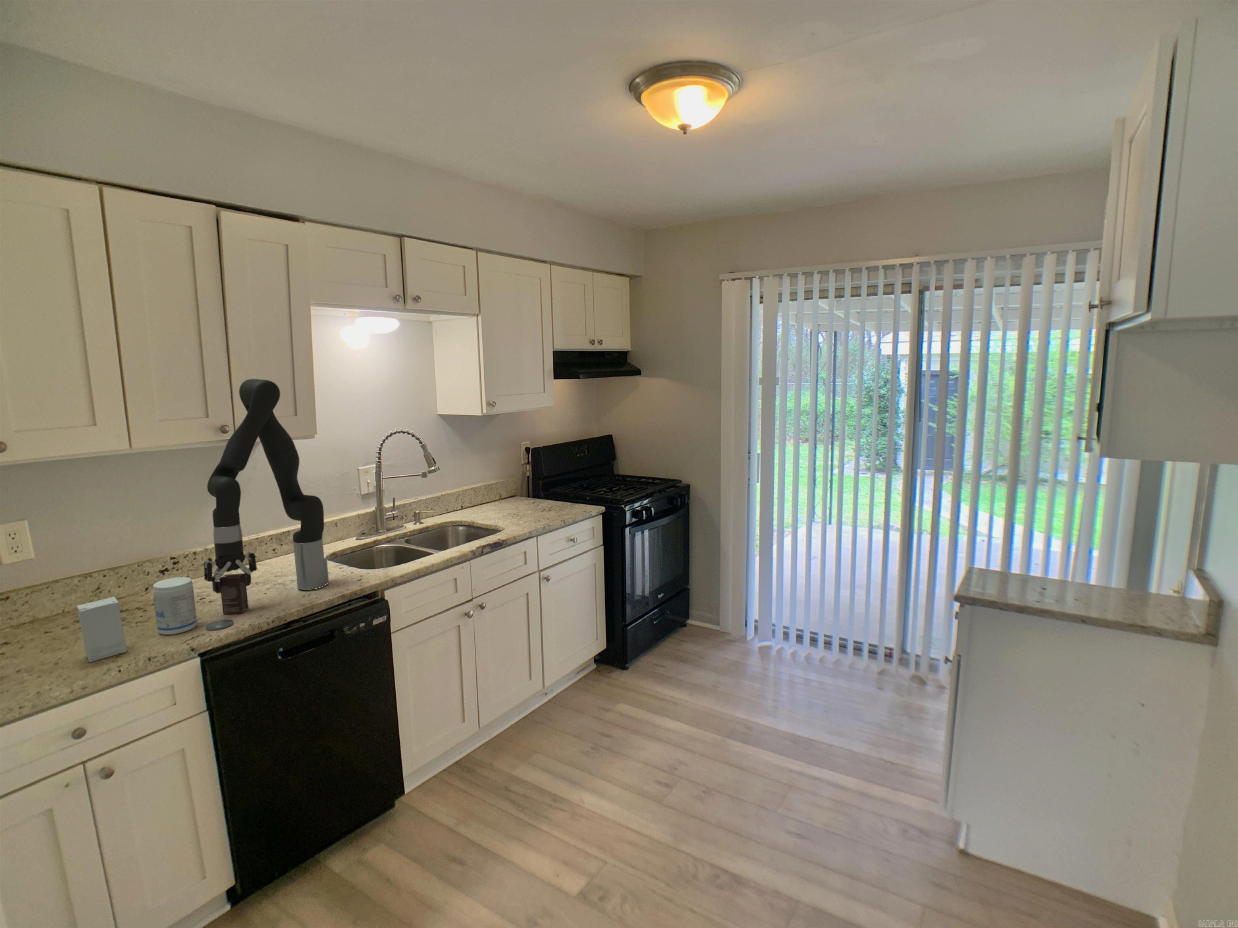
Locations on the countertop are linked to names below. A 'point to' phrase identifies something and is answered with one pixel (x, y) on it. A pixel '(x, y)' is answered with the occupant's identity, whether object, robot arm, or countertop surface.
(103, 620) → the skincare box
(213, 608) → the countertop surface
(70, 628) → the countertop surface
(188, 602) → the supplement tub
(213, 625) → the slate coaster
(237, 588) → the box
